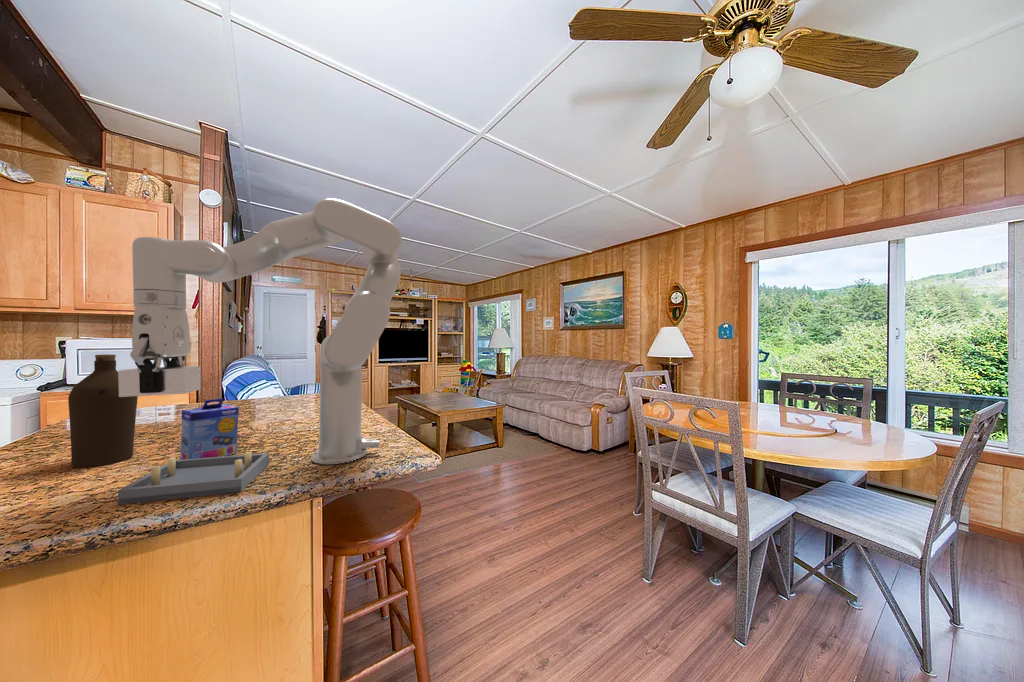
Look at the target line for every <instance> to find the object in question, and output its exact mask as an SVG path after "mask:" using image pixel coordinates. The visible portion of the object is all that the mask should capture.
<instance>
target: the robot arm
mask: <svg viewBox="0 0 1024 682" xmlns="http://www.w3.org/2000/svg"><path fill="white" fill-rule="evenodd" d="M313 209H314V210H313V211H308V212H305V213H301V214H297V215H293V216H289V217H285V218H282V219H278V220H274V221H270V222H269V223H267V224H266V225H264V226H263V227H262V228H261V229H260V230H259V231H257V233H256V234H254V235H253V236H250V237H249V238H247V239H245V240H243V241H240V242H237V243H234V244H233V243H232V244H230V245H227V246H221V245H220V244H218V243H216V242H213V241H209V240H201V239H200V240H199V239H197V240H194V239H192V240H186V239H185V240H180V239H179V240H177V239H176V240H175V239H169V238H162V237H156V236H154V237H153V236H139V237H136V238H135V239H134V240H133V241H132V244H131V245H132V248H131V250H132V255H131V256H132V283H133V284H132V288H133V290H132V297H133V308H134V311H133V312H134V313H133V318H132V319H133V320H132V328H131V329H132V330H131V331H132V332H131V346H132V347H131V348H132V350H131V352H130V354H129V355H130V357H131V358H132V360H133V361H134V364H135V366H136V367H137V371H138V372H139V386H140V393H159V392H162V372H159V369H160V367H161V366H162V365H161V364H162V363H163V367H185V364H184V361H185V359H186V356H188V355H189V354H190V353H191V351H192V346H191V334H190V332H191V331H190V324H189V319H188V318H189V317H188V314H187V313H188V312H187V275H192V276H195V277H199V278H201V279H202V280H204V281H206V282H210V283H215V284H219V283H227V282H230V281H233V280H238V279H240V278H243V277H246V276H250V275H252V274H255V273H258V272H261V271H263V270H265V269H268V268H271V267H273V266H275V265H278V264H282V263H284V262H285V261H288V260H290V259H292V258H296V257H298V256H302V255H305V254H308V253H311V252H314V251H317V250H321V249H324V248H327V247H330V246H333V245H337V244H339V243H342V242H343V241H345V240H347V241H349V242H352V243H354V244H356V245H359V246H360V250H361V252H362V255H363V256H364V258H365V260H366V262H367V270H366V272H365V275H364V276H363V278H362V279H361V282H360V284H359V285H358V287H357V288H356V289H355V291H354V294H353V295H352V296H351V298H349V300H348V301H347V302H346V303H345V307H344V311H343V313H342V314H341V316H340V318H339V319H338V321H337V323H336V325H335V326H334V328H333V330H332V332H331V333H330V334H328V335H327V336H326V337H325V338H324V339H323V340H322V342H321V345H320V349H319V373H320V374H319V376H320V377H319V415H318V416H319V418H318V420H319V421H318V422H319V424H318V449H317V450H316V451H314V452H313V453H312V454H311V461H312V462H313V463H316V464H318V463H319V465H337V464H338V465H339V464H340V463H341V464H346V463H345V462H347V463H351V462H350V461H352V462H354V461H353V460H355V461H357V460H356V459H358V460H360V459H359V458H361V457H362V456H364V455H365V454H366V453H367V454H368V448H369V449H370V448H371V449H372V448H374V449H376V448H380V439H376V438H369V439H368V438H367V439H366V438H364V434H363V433H362V403H363V402H362V399H363V398H362V397H363V395H362V394H363V371H362V370H363V369H362V366H363V365H364V364H365V363H366V362H367V360H368V358H369V357H370V355H371V354H372V352H373V350H374V348H375V346H376V345H377V343H378V342H379V341H378V340H380V338H381V335H382V334H383V332H384V330H385V328H386V327H387V324H388V322H389V319H390V315H391V308H390V302H391V301H392V299H393V296H394V294H395V292H396V291H397V288H398V286H399V284H400V281H401V272H402V271H401V270H402V269H401V265H400V261H399V258H398V256H397V254H396V253H397V252H398V251H399V250H400V249H401V246H402V243H403V238H402V234H401V231H400V230H399V228H398V227H397V226H396V225H395V224H394V223H393V222H391V221H390V220H388V219H386V218H384V217H381V216H380V215H377V214H375V213H372V212H370V211H368V210H366V209H364V208H362V207H359V206H356V205H354V204H352V203H350V202H349V201H348V202H347V201H345V200H342V199H337V198H334V197H333V198H332V197H327V198H326V197H325V198H324V199H320V200H319V201H318V202H317V203H316V204H315V205H314V208H313ZM152 361H153V362H152ZM367 454H366V455H367ZM366 455H365V456H366ZM365 456H364V457H365ZM361 459H362V458H361Z"/></svg>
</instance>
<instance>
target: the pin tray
mask: <svg viewBox="0 0 1024 682" xmlns="http://www.w3.org/2000/svg"><path fill="white" fill-rule="evenodd" d="M269 464H270V452H268V453H267V452H266V453H254V454H253V453H252V451H246V452H244V454H240V455H229V456H224V457H210V458H197V459H184V460H181V459H176V457H173V456H172V457H169V458H167V462H166V463H165V464H164V465H162V466H161V465H154V466H152V467H151V472H149V473H148V474H145V475H143V476H142V477H140V478H138V479H136V480H135V481H133V482H130V483H129V484H127V485H126V486H123V487H122V488H120V489H118V490H117V506H118V505H120V504H121V505H127V504H128V505H129V504H139V503H148V502H156V501H157V502H158V501H168V500H176V499H187V498H195V497H198V498H199V497H203V496H204V497H205V496H215V495H226V494H236V493H242V492H243V491H244V490H245V489H246V488H247V487H248V486H249V485H250V484H249V483H250V482H251V481H252V480H253V481H254V480H255V479H256V478H257V477H258V475H259V474H261V472H263V470H264V469H266V467H268V465H269ZM253 481H252V482H253ZM252 482H251V483H252ZM248 484H249V485H248ZM247 485H248V486H247Z"/></svg>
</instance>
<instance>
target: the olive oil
mask: <svg viewBox="0 0 1024 682" xmlns="http://www.w3.org/2000/svg"><path fill="white" fill-rule="evenodd" d="M94 357H95V360H94V361H93V362H94V363H93V366H94V370H93V372H91V373H90V374H89V375H87V376H85V378H83V379H82V380H80V381H79V382H78V383H76V384H75V385H74V386H73V387H72V388H71V390H70V393H69V394H68V397H67V398H68V399H67V401H68V402H67V403H68V414H69V415H68V417H69V429H70V430H69V434H70V455H71V456H70V458H71V462H70V463H71V467H75V468H91V467H99V466H100V467H101V466H105V465H110V464H115V463H120V462H122V461H126V460H129V459H130V458H132V457H133V456H134V446H135V445H134V444H135V428H136V417H137V408H138V407H137V406H138V400H139V399H138V397H139V396H128V397H119V380H118V371H119V370H117V360H116V357H117V356H116V354H109V353H108V354H105V353H104V354H95V355H94Z"/></svg>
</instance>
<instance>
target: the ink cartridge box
mask: <svg viewBox="0 0 1024 682" xmlns="http://www.w3.org/2000/svg"><path fill="white" fill-rule="evenodd" d="M223 401H224V398H221V397H220V398H215V399H214V398H213V399H206V400H205V401H204V402H203V405H202V406H201V407H195V408H189V409H182V410H181V434H180V435H181V436H180V460H184V459H197V458H210V457H223V456H228V455H229V456H233V455H232V454H234V455H236V454H237V453H238V452H237V451H238V450H237V449H238V427H239V426H238V425H239V412H240V411H239V410H240V407H238V406H236V405H232V404H223ZM214 402H216V403H214ZM211 403H212V404H211ZM235 453H236V454H235Z"/></svg>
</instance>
